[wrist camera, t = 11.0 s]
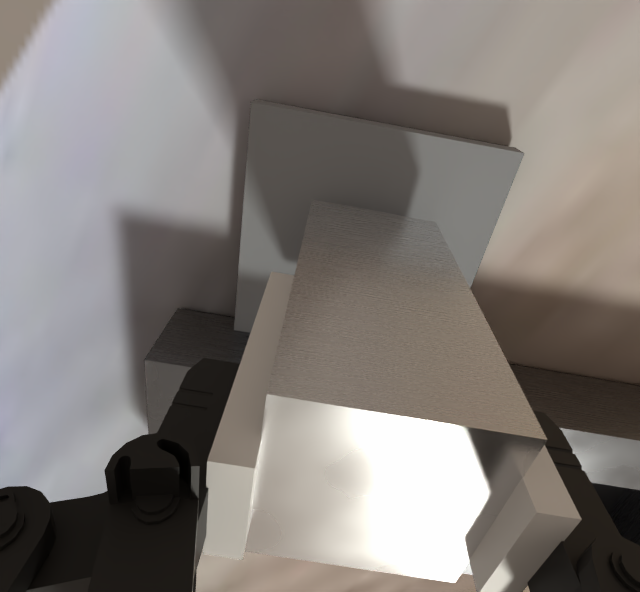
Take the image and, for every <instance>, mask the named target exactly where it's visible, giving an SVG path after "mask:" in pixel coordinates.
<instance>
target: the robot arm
mask: <svg viewBox="0 0 640 592" xmlns="http://www.w3.org/2000/svg"><path fill="white" fill-rule="evenodd" d="M293 279H294V275H289V274H283V273H277V272H271V274H270V277H269V280H268V283H267V286H266V289H265V292H264V295H263V298H262V301H261V304H260V306H259V309H258V312H257V315H256V318H255V321H254V324H253V327H252V330H251V333H250V336H249V339H248V342H247V345H246V348H245V351H244V354H243V357H242V360H241V363H240V364H238V363H232V362H226V361H220V360H214V359H208V358H203V359H202V360H200V361H199V362H198V363H197V364H195V365H194V366H193V367H192V368H191V369H189V370H188V371H187V373H186V375H185V377H184V379H183V381H182V383H181V385H180V387H179V391H177V393H176V395H175V397H174V399H173V401H172V405H171V406H170V408H169V410H168V412H167V414H166V416H165V418H164V420H163V422H162V424H161V426H160V428H159V430H158V432H157V433H154V434H148V435H142V436H140V437H138V438H136V439H134V440H132V441H130V442H128V443H126V444H125V445H123V446H122V447H121V448H120V449H119V450H118V451H117V452H116V453H115V454H113V455H112V457H111V459H110V461H109V463H108V465H107V467H106V469H105V476H106V483H107V489H108V491H107V492H104V493H102V494H98V495H94V496H90V497H84V498H77V499H71V500H64V501H57V502H51V503H49V501H48V500H47V499H46V497H45V496H44V495H43V493H42V492H40V491H38V490H35V489H33V488H30V487H27V486H18V487H5V488H2V489H0V592H195V591H196V569H197V566H198V562H199V559H200V555H201V552H202V549H203V554H205V555H212V556H219V557H225V558H232V559H239V560H243V555H244V550H245V545H246V541H247V536H248V531H249V525H250V518H251V511H252V504H253V497H254V489H255V482H256V475H257V468H258V461H259V453H260V446H261V439H262V436H261V431H262V424H263V416H264V409H265V402H266V395H267V390H268V386H269V382H270V377H271V373H272V369H273V364H274V360H275V356H276V352H277V347H278V343H279V339H280V335H281V330H282V326H283V322H284V317H285V313H286V309H287V305H288V300H289V296H290V292H291V287H292V283H293ZM533 412H534V414H535V416H536V418H537V420H538V422H539V424H540V426H541V428H542V430H543V432H544V434H545V436H546V438H547V442H546V443H545V445H544V446H543V448H542V449H541V451H540V452H539V454H538V456H537V457H536V459H535V460H534V462H533V463H532V465H531V466H530V468H529V469H528V471H527V473H526V474H525V476H524V477H522V479H521V480H520V482H519V483H518V485H517V486H516V488H515V489H514V491H513V493H512V494H511V496H510V497H509V499H508V500H507V502H506V503H505V505H504V507H503V508H502V510H501V511H500V513H499V514H498V516H497V517H496V519H495V521H494V522H493V524H492V525H491V527H490V528H489V530H488V531H487V533H486V534H485V536H484V538H483V539H482V541H481V542H480V544H479V545H478V547H477V548H476V550H475V552H474V553H473V555H472V556H471V558H470V559H469V562H470V566H471V570H472V574H473V578H474V583H475V587H476V591H477V592H523V590H524V589H525V588H526V587H527V586H529V589H530V592H640V546H639V545H637V544H635V543H633V542H631V541H629V540H627V539H625V538H623V537H622V536H621V535H620V533H619V531H618V530H617V528H616V526H615V524H614V522H613V521H612V519H611V517H610V515H609V513H608V512H607V510H606V508H605V506H604V505H603V503H602V501H601V499H600V497H599V496H598V494H597V492H596V490H595V489H594V487H593V485H592V483H591V481H590V480H589V478H588V476H587V474H586V473H585V471H583V470H582V465H581V464H580V462H579V460H578V458H577V457H576V455H575V454H573V449H572V448H571V446H570V444H569V442H568V440H567V439H566V437H565V435H564V433H563V432H562V430H561V429H560V428H559V427H558V426H557V425H556V424H555V423H554V422H553V421H552V420H551V419H550V418H549V417H548V416H547V415H546V414H545V413H543V412H537V411H533Z"/></svg>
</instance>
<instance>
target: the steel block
mask: <svg viewBox="0 0 640 592" xmlns="http://www.w3.org/2000/svg"><path fill="white" fill-rule="evenodd" d="M261 436H262V439H261V446H260V453H259V461H258V468H257V475H256V482H255V489H254V497H253V504H252V511H251V518H250V525H249V531H248V536H247V541H246V548H245V552H251V553H258V554H265V555H271V556H278V557H285V558H291V559H298V560H305V561H312V562H318V563H325V564H332V565H338V566H345V567H352V568H358V569H365V570H372V571H379V572H385V573H392V574H399V575H405V576H412V577H419V578H425V579H432V580H439V581H445V582H452V583H455V582H456V581H457V579H458V578H459V576H460V575H461V573H462V572H463V570H464V568H465V567H466V565H467V564H468V562H469V559H470V558H471V556H472V555H473V553H474V552H475V550H476V548H477V547H478V545H479V544H480V542H481V541H482V539H483V538H484V536H485V534H486V533H487V531H488V530H489V528H490V527H491V525H492V524H493V522H494V521H495V519H496V517H497V516H498V514H499V513H500V511H501V510H502V508H503V507H504V505H505V503H506V502H507V500H508V499H509V497H510V496H511V494H512V493H513V491H514V489H515V488H516V486H517V485H518V483H519V482H520V480H521V479H522V477H524V476H525V474H526V473H527V471H528V469H529V468H530V466H531V465H532V463H533V462H534V460H535V459H536V457H537V456H538V454H539V452H540V451H541V449H542V448H543V446H544V445H545V443H546V442H547V438H546V436H545V434H544V432H543V430H542V428H541V426H540V424H539V422H538V420H537V418H536V416H535V414H534V412H533V410H532V409H531V407H530V405H529V403H528V401H527V399H526V397H525V395H524V393H523V391H522V389H521V387H520V385H519V383H518V381H517V379H516V377H515V375H514V373H513V371H512V369H511V367H510V366H509V364H508V362H507V360H506V358H505V356H504V354H503V352H502V350H501V348H500V346H499V344H498V342H497V340H496V338H495V336H494V334H493V332H492V330H491V328H490V326H489V324H488V323H487V321H486V319H485V317H484V315H483V313H482V311H481V309H480V307H479V305H478V303H477V301H476V299H475V297H474V295H473V293H472V291H471V289H470V287H469V285H468V283H467V281H466V280H465V278H464V276H463V274H462V272H461V270H460V268H459V266H458V264H457V262H456V260H455V258H454V256H453V254H452V252H451V250H450V248H449V246H448V244H447V242H446V240H445V238H444V237H443V235H442V233H441V231H440V229H439V227H438V225H437V223H436V222H434V221H428V220H423V219H417V218H412V217H406V216H401V215H395V214H389V213H384V212H378V211H373V210H367V209H362V208H356V207H351V206H345V205H339V204H334V203H328V202H323V201H317V200H312V202H311V206H310V211H309V215H308V219H307V223H306V228H305V232H304V236H303V240H302V245H301V249H300V253H299V258H298V262H297V266H296V270H295V275H294V279H293V283H292V287H291V292H290V296H289V300H288V305H287V309H286V313H285V317H284V322H283V326H282V330H281V335H280V339H279V343H278V347H277V352H276V356H275V360H274V364H273V369H272V373H271V377H270V382H269V386H268V390H267V395H266V402H265V409H264V416H263V424H262V431H261Z"/></svg>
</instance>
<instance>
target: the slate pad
mask: <svg viewBox="0 0 640 592" xmlns="http://www.w3.org/2000/svg"><path fill="white" fill-rule="evenodd" d="M523 156H524V153H523V152H521V151H520V150H518V149H516V148H514V147H508V146H503V145H498V144H492V143H487V142H482V141H476V140H471V139H466V138H460V137H455V136H450V135H444V134H439V133H434V132H428V131H423V130H418V129H412V128H407V127H402V126H396V125H391V124H386V123H380V122H375V121H370V120H364V119H359V118H354V117H348V116H343V115H338V114H332V113H327V112H322V111H316V110H311V109H306V108H300V107H295V106H290V105H284V104H279V103H274V102H268V101H263V100H258V99H256V100H254V101H252V102H251V108H250V121H249V134H248V148H247V161H246V174H245V188H244V201H243V214H242V227H241V241H240V254H239V267H238V281H237V294H236V307H235V320H234V330H236V331H242V332H248V333H251V330H252V327H253V324H254V321H255V318H256V315H257V312H258V309H259V306H260V304H261V301H262V298H263V295H264V292H265V289H266V286H267V283H268V280H269V277H270V274H271V272H277V273H283V274H289V275H295V270H296V266H297V262H298V258H299V253H300V249H301V245H302V240H303V236H304V232H305V228H306V223H307V219H308V215H309V211H310V206H311V202H312V200H317V201H323V202H328V203H334V204H339V205H345V206H351V207H356V208H362V209H367V210H373V211H378V212H384V213H389V214H395V215H401V216H406V217H412V218H417V219H423V220H428V221H434V222H436V223H437V225H438V227H439V229H440V231H441V233H442V235H443V237H444V238H445V240H446V242H447V244H448V246H449V248H450V250H451V252H452V254H453V256H454V258H455V260H456V262H457V264H458V266H459V268H460V270H461V272H462V274H463V276H464V278H465V280H466V281H467V283H468V285H469V287H470V288H471V285H472V283H473V280H474V278H475V275H476V273H477V270H478V268H479V265H480V263H481V260H482V258H483V255H484V253H485V250H486V248H487V245H488V243H489V240H490V238H491V235H492V233H493V230H494V228H495V225H496V223H497V220H498V218H499V215H500V213H501V210H502V208H503V205H504V203H505V200H506V198H507V195H508V193H509V190H510V188H511V186H512V183H513V181H514V178H515V176H516V173H517V171H518V168H519V166H520V163H521V161H522V158H523Z"/></svg>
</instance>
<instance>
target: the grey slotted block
mask: <svg viewBox="0 0 640 592" xmlns="http://www.w3.org/2000/svg"><path fill="white" fill-rule="evenodd" d="M234 320H235V318H233V317H227V316H221V315H215V314H209V313H203V312H197V311H191V310H185V309H179V308H178V309H177V310H176V312H175V313H174V315H173V316H172V318H171V320H170V321H169V323H168V324H167V326H166V327H165V329H164V330H163V332H162V333H161V335H160V336H159V338H158V339H157V341H156V343H155V344H154V346H153V347H152V349H151V350H150V352H149V353H148V355H147V356H146V358H145V359H144V365H145V382H146V398H147V415H148V431H149V434H154V433H157V432H158V430H159V428H160V426H161V424H162V422H163V420H164V418H165V416H166V414H167V412H168V410H169V408H170V406H171V405H172V401H173V399H174V397H175V395H176V393H177V391H179V387H180V385H181V383H182V381H183V379H184V377H185V375H186V373H187V371H188V370H189V369H191V368H192V367H193V366H194V365H195V364H197V363H198V362H199V361H200V360H202V359H203V358H208V359H214V360H220V361H226V362H232V363H238V364H240V363H241V360H242V357H243V354H244V351H245V348H246V345H247V342H248V339H249V336H250V333H248V332H242V331H236V330H234ZM509 366H510V367H511V369H512V371H513V373H514V375H515V377H516V379H517V381H518V383H519V385H520V387H521V389H522V391H523V393H524V395H525V397H526V399H527V401H528V403H529V405H530V407H531V409H532V410H533V411H537V412H543V413H545V414H546V415H547V416H548V417H549V418H550V419H551V420H552V421H553V422H554V423H555V424H556V425H557V426H558V427H559V428H560V429H561V430H562V432H563V433H564V435H565V437H566V439H567V440H568V442H569V444H570V446H571V448H572V449H573V454H575V455H576V457H577V458H578V460H579V462H580V464H581V465H582V470H583V471H585V473H586V474H587V476H588V478H589V480H590V481H591V483H592V485H593V487H594V489H595V490H596V492H597V494H598V496H599V497H600V499H601V501H602V503H603V505H604V506H605V508H606V510H607V512H608V513H609V515H610V517H611V519H612V521H613V522H614V524H615V526H616V528H617V530H618V531H619V533H620V535H621V536H622V537H623V538H625V539H627V540H629V541H631V542H633V543H635V544H637V545H639V546H640V386H637V385H631V384H625V383H619V382H613V381H607V380H601V379H595V378H589V377H583V376H577V375H571V374H565V373H559V372H553V371H548V370H542V369H536V368H530V367H524V366H518V365H512V364H509ZM462 573H464V574H471V575H473V574H472V570H471V566H470V562H468V564H467V565H466V567H465V568H464V570H463V572H462Z"/></svg>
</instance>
